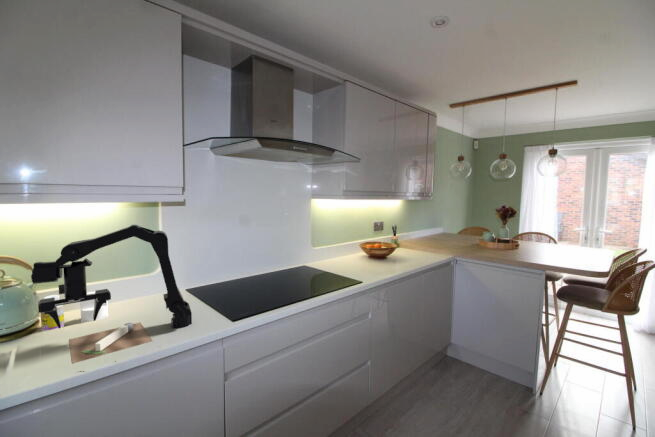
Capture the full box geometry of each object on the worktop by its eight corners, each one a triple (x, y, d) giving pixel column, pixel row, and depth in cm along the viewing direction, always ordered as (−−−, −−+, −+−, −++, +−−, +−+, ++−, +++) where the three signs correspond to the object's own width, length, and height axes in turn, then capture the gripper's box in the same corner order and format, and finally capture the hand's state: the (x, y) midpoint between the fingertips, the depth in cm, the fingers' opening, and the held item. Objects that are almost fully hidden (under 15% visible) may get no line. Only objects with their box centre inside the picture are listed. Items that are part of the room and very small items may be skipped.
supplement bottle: (39, 329, 118) (37, 297, 117) (61, 323, 124) (59, 292, 123) (44, 334, 114) (42, 300, 113) (67, 327, 120) (65, 296, 119)
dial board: (140, 325, 123) (140, 321, 122) (153, 344, 108) (152, 340, 108) (69, 343, 108) (68, 338, 108) (72, 368, 93) (72, 363, 93)
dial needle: (127, 328, 116) (127, 321, 116) (135, 329, 116) (134, 322, 116) (93, 351, 100) (93, 343, 100) (102, 351, 100) (102, 343, 99)
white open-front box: (80, 326, 121) (78, 297, 120) (82, 318, 128) (81, 291, 127) (107, 321, 126) (106, 293, 125) (108, 314, 133) (107, 287, 132)
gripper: (105, 270, 115) (107, 310, 116) (37, 279, 103) (40, 323, 104) (110, 276, 107) (112, 319, 108) (36, 287, 94) (40, 335, 96)
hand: (77, 324), depth 104 cm, fingers open, 9 cm apart
